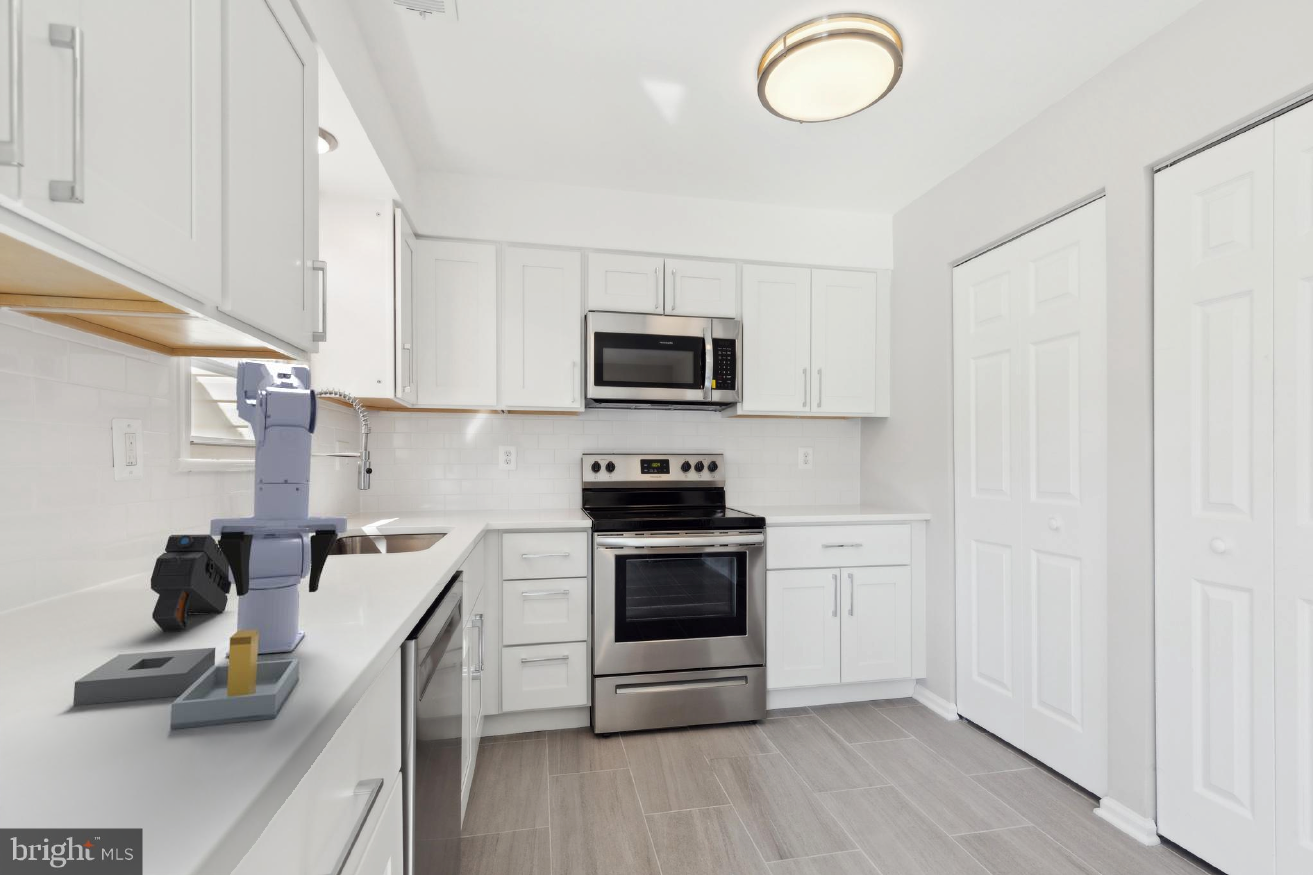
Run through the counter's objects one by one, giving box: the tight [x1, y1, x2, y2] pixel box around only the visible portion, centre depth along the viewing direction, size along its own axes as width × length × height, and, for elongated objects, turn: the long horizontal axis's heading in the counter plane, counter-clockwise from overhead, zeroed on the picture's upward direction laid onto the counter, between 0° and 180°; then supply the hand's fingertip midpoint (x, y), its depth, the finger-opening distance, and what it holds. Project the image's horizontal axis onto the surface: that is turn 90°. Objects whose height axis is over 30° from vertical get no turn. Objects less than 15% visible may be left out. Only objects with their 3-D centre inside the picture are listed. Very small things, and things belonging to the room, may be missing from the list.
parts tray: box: [169, 658, 300, 730], centre depth 68 cm, size 12×9×2 cm
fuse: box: [227, 629, 259, 697], centre depth 68 cm, size 3×2×7 cm, turn 20°
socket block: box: [72, 647, 216, 707], centre depth 72 cm, size 10×10×2 cm
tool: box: [150, 533, 233, 632], centre depth 102 cm, size 6×19×15 cm
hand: (278, 592), depth 76 cm, fingers open, 7 cm apart
